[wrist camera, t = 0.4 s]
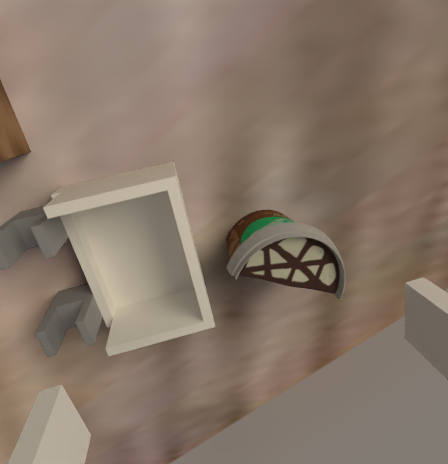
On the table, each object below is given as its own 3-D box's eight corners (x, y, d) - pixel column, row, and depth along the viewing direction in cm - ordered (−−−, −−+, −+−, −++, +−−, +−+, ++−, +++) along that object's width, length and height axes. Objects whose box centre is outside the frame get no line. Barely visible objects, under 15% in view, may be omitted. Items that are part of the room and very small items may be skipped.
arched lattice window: (323, 213, 40) (371, 246, 30) (305, 258, 41) (345, 301, 32) (229, 188, 36) (251, 215, 27) (214, 237, 38) (230, 278, 29)
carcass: (14, 197, 33) (-29, 224, 25) (173, 161, 34) (176, 176, 27) (73, 322, 39) (52, 372, 32) (206, 286, 40) (215, 326, 33)
